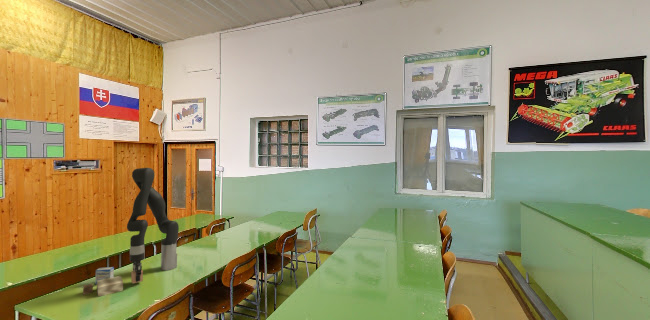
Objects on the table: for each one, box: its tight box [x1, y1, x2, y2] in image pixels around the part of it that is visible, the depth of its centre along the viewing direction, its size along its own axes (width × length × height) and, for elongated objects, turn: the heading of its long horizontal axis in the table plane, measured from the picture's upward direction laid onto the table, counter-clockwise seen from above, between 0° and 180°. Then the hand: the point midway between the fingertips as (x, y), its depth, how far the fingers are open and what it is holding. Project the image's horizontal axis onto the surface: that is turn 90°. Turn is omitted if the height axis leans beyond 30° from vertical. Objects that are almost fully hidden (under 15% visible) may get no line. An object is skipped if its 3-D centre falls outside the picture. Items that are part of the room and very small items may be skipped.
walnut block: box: [82, 283, 94, 296], centre depth 153 cm, size 4×4×4 cm
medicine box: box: [94, 266, 115, 285], centre depth 166 cm, size 8×4×9 cm, turn 105°
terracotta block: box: [130, 270, 144, 284], centre depth 166 cm, size 5×5×6 cm
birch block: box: [96, 275, 124, 298], centre depth 157 cm, size 11×11×5 cm
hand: (137, 279), depth 166 cm, fingers closed on terracotta block, 5 cm apart
